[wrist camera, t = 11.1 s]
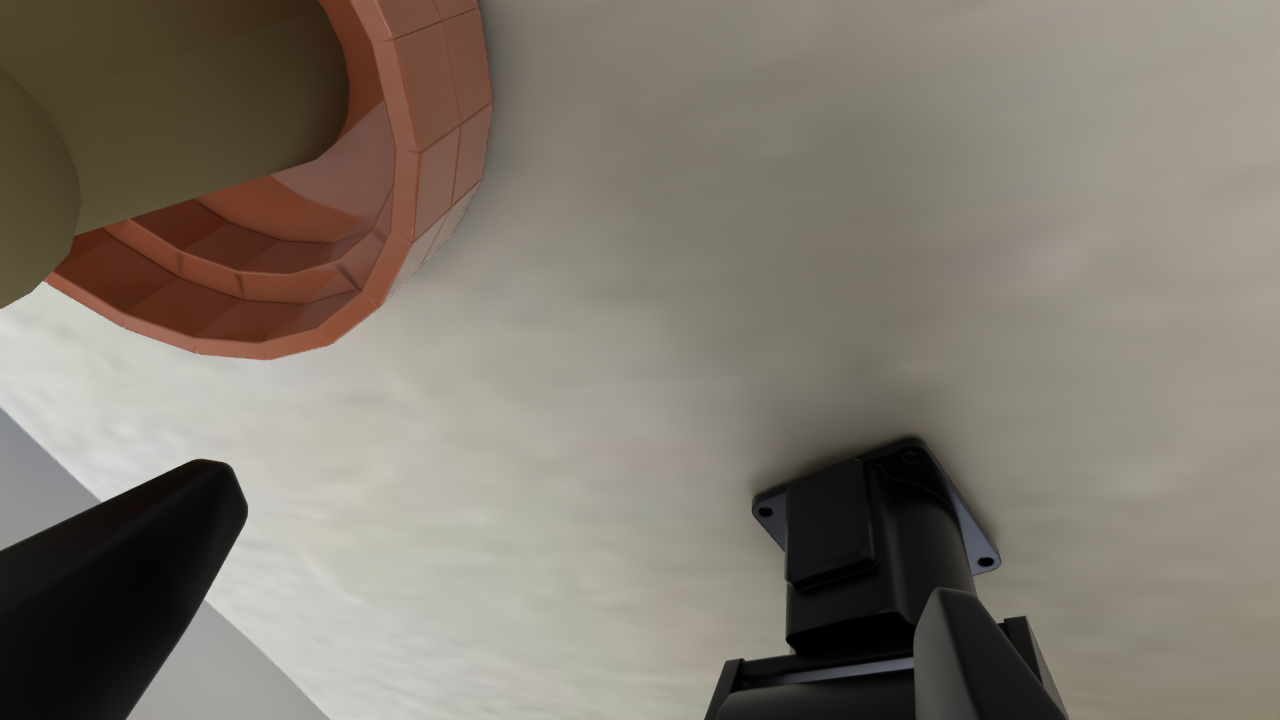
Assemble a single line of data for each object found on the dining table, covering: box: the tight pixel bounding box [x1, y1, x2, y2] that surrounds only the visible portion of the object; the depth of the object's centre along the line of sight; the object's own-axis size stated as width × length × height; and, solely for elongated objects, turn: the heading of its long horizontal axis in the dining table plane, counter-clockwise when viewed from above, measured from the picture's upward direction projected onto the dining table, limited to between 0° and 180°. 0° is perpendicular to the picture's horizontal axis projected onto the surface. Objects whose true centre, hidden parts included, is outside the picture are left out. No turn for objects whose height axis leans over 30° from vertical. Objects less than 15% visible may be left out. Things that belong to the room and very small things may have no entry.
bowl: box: [43, 0, 493, 360], centre depth 17 cm, size 14×14×5 cm
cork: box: [0, 0, 350, 309], centre depth 15 cm, size 6×6×11 cm
